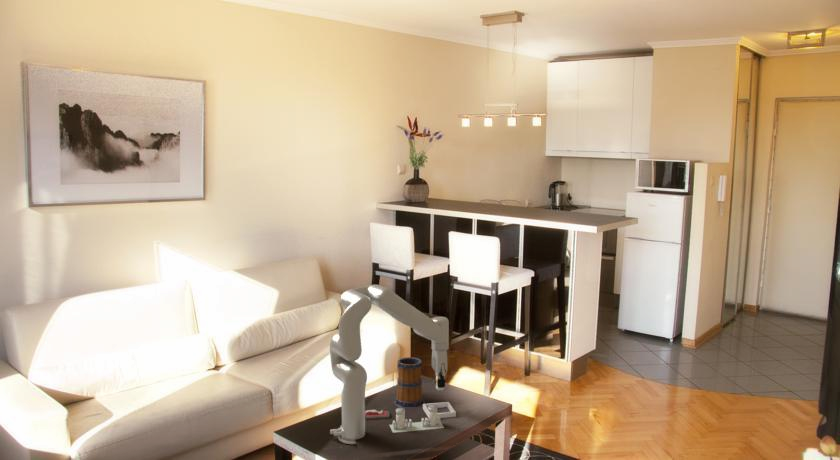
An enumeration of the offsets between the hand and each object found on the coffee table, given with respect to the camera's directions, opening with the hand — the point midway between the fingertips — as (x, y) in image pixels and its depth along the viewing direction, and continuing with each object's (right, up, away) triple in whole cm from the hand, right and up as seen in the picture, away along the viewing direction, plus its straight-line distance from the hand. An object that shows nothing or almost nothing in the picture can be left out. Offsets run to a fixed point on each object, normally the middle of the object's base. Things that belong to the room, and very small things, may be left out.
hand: (439, 385), depth 293 cm
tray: (0, -14, +2) cm, 14 cm away
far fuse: (-3, -14, -11) cm, 19 cm away
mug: (-15, -12, +19) cm, 27 cm away
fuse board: (-10, -16, -13) cm, 23 cm away
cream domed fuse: (-17, -14, -15) cm, 27 cm away
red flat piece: (-31, -15, -2) cm, 35 cm away
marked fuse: (0, -2, 0) cm, 2 cm away
